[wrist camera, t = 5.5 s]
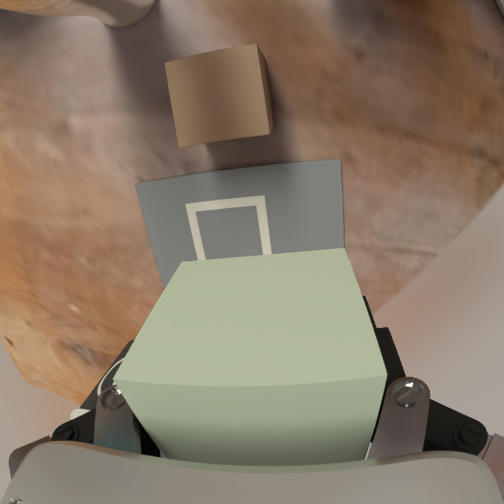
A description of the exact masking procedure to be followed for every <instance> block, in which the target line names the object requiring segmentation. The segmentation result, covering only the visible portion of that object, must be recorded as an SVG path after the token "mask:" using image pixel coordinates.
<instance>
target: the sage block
mask: <svg viewBox="0 0 504 504" xmlns="http://www.w3.org/2000/svg"><path fill="white" fill-rule="evenodd" d="M386 379H387V372H386V368H385V365H384V361H383V358H382V355H381V352H380V348H379V345H378V342H377V339H376V336H375V333H374V330H373V326H372V323H371V320H370V317H369V315H368V312H367V309H366V306H365V303H364V300H363V297H362V294H361V291H360V289H359V286H358V283H357V280H356V278H355V275H354V272H353V270H352V267H351V264H350V262H349V259H348V256H347V254H346V251H345V249H344V248H337V249H326V250H314V251H303V252H291V253H280V254H268V255H257V256H245V257H233V258H222V259H210V260H198V261H186V262H181V264H180V265H179V267H178V269H177V270H176V272H175V273H174V275H173V277H172V278H171V280H170V282H169V283H168V285H167V286H166V288H165V290H164V291H163V293H162V295H161V296H160V298H159V300H158V301H157V303H156V305H155V306H154V308H153V310H152V311H151V313H150V315H149V316H148V318H147V320H146V321H145V323H144V325H143V327H142V328H141V330H140V332H139V333H138V335H137V337H136V339H135V340H134V342H133V344H132V346H131V347H130V349H129V351H128V353H127V354H126V356H125V358H124V360H123V362H122V363H121V365H120V367H119V369H118V371H117V372H116V374H115V376H114V378H113V380H114V382H115V383H116V385H117V387H118V388H119V390H120V392H121V393H122V395H123V397H124V398H125V400H126V401H127V403H128V405H129V406H130V408H131V409H132V411H133V412H134V414H135V415H136V417H137V418H138V420H139V421H140V423H141V424H142V426H143V427H144V429H145V430H146V432H147V433H148V434H149V436H150V437H151V439H152V440H153V441H154V443H155V444H156V445H157V447H158V448H159V449H160V451H161V452H162V453H163V455H164V456H165V457H166V459H172V460H180V461H188V462H197V463H207V464H220V465H237V466H303V465H319V464H332V463H342V462H351V461H360V460H365V457H366V454H367V450H368V447H369V444H370V441H371V437H372V434H373V430H374V427H375V423H376V420H377V416H378V412H379V408H380V404H381V400H382V396H383V392H384V388H385V383H386Z"/></svg>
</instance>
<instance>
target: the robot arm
mask: <svg viewBox="0 0 504 504" xmlns="http://www.w3.org/2000/svg"><path fill="white" fill-rule="evenodd" d="M495 1H496V3H497V5H498V7H499V9H500V11H501V12H502V14H503V16H504V0H495ZM362 297H363V300H364V303H365V306H366V309H367V312H368V315H369V317H370V320H371V323H372V326H373V330H374V333H375V336H376V339H377V342H378V345H379V348H380V352H381V355H382V358H383V361H384V365H385V368H386V372H387V379H386V383H385V388H384V392H383V396H382V400H381V404H380V408H379V412H378V416H377V420H376V423H375V427H374V430H373V434H372V437H371V441H370V442H371V443H372V445H371V448H370V452H369V455H368V458H367V460H360V461H351V462H342V463H332V464H319V465H303V466H237V465H220V464H207V463H197V462H188V461H180V460H172V459H165V456H164V455H163V453H162V452H161V451H160V449H159V448H158V447H157V445H156V444H155V443H154V441H153V440H152V439H151V437H150V436H149V434H148V433H147V432H146V430H145V429H144V427H143V426H142V424H141V423H140V421H139V420H138V418H137V417H136V415H135V414H134V412H133V411H132V409H131V408H130V406H129V405H128V403H127V401H126V400H125V398H124V397H123V395H122V393H121V392H120V390H119V388H118V387H117V385H116V384H115V385H112V386H109V387H107V388H106V389H104V390H103V391H102V392H101V393H100V395H99V396H98V399H97V406H96V408H95V409H93V410H91V411H89V412H87V413H85V414H83V415H80V416H78V417H76V418H74V419H72V420H70V421H68V422H66V423H64V424H62V425H60V426H59V427H58V428H57V429H56V430H55V431H54V433H53V435H52V438H51V437H50V436H49V435H48V436H46V437H44V438H41V439H39V440H37V441H35V442H32V443H30V444H27V445H25V446H22V447H20V448H17V449H16V450H14V451H13V452H12V453H11V455H10V457H9V468H10V474H11V482H10V484H9V486H8V488H7V490H6V492H5V494H4V496H3V499H2V501H1V503H0V504H504V437H502V436H500V435H498V434H494V435H493V436H492V435H489V434H488V433H487V431H486V428H485V427H484V426H483V424H482V423H480V422H479V421H477V420H475V419H473V418H471V417H468V416H466V415H464V414H461V413H459V412H457V411H455V410H453V409H451V408H448V407H446V406H444V405H442V404H440V403H438V402H436V401H433V400H431V399H430V390H429V388H428V386H427V385H426V384H425V383H424V382H423V381H421V380H419V379H418V378H414V377H406V375H405V372H404V370H403V367H402V364H401V361H400V358H399V356H398V353H397V350H396V347H395V344H394V342H393V339H392V336H391V334H390V331H389V329H388V328H387V327H384V328H376V325H375V322H374V319H373V316H372V314H371V311H370V308H369V305H368V302H367V300H366V297H365V296H362Z"/></svg>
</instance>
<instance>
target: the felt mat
mask: <svg viewBox="0 0 504 504" xmlns="http://www.w3.org/2000/svg"><path fill="white" fill-rule="evenodd" d="M135 185H136V189H137V194H138V198H139V202H140V206H141V210H142V213H143V217H144V221H145V225H146V229H147V232H148V236H149V240H150V243H151V247H152V250H153V254H154V257H155V260H156V264H157V267H158V270H159V274H160V277H161V280H162V283H163V287H164V290H165V288H166V286H167V285H168V283H169V282H170V280H171V278H172V277H173V275H174V273H175V272H176V270H177V269H178V267H179V265H180V264H181V262H186V261H198V260H210V259H222V258H233V257H245V256H257V255H268V254H280V253H291V252H303V251H314V250H326V249H337V248H344V223H343V196H342V177H341V161H340V159H330V160H314V161H301V162H289V163H278V164H268V165H258V166H249V167H241V168H233V169H225V170H217V171H210V172H203V173H196V174H189V175H183V176H176V177H170V178H164V179H158V180H152V181H147V182H141V183H137V184H135Z"/></svg>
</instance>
